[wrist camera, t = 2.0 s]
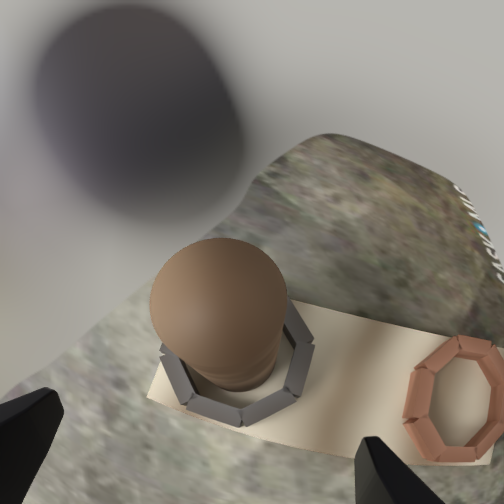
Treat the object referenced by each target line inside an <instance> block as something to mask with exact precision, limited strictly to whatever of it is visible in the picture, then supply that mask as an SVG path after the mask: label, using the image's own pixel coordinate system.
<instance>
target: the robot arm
mask: <svg viewBox="0 0 504 504" xmlns="http://www.w3.org/2000/svg"><path fill="white" fill-rule="evenodd" d="M63 415H64V409H63V406H62V403H61V401H60V398H59V396H58V393H57V392H56V391H55V390H53V389H51V388H48V387H44V388H41V389H38V390H36V391H33V392H31V393H28V394H26V395H23V396H21V397H18V398H16V399H13V400H10V401H8V402H5V403H3V404H0V504H22V502H23V500H24V498H25V496H26V494H27V492H28V490H29V488H30V486H31V484H32V482H33V480H34V478H35V476H36V474H37V472H38V470H39V468H40V466H41V464H42V463H43V461H44V459H45V457H46V455H47V453H48V451H49V449H50V446H51V444H52V442H53V439H54V437H55V434H56V432H57V429H58V427H59V425H60V422H61V420H62V418H63ZM354 464H355V500H356V504H445V503H444V502H443V501H442V500H441V499H440V498H439V497H438V496H437V495H436V494H435V493H434V492H433V491H432V490H431V489H430V488H429V487H428V486H427V485H426V484H425V483H424V482H423V481H422V480H421V479H420V478H419V477H418V476H417V475H416V474H415V473H414V472H413V471H412V470H411V469H410V468H409V467H408V466H407V465H406V464H405V463H404V462H403V461H402V460H401V459H400V458H399V457H398V456H397V455H396V454H395V453H394V452H393V451H392V450H391V449H390V448H389V447H388V446H387V445H386V444H385V443H384V442H383V440H382V439H381V438H380V437H378V436H366V437H363V438H362V440H361V443H360V445H359V447H358V450H357V452H356V454H355V460H354Z"/></svg>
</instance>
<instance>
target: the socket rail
mask: <svg viewBox="0 0 504 504" xmlns="http://www.w3.org/2000/svg"><path fill="white" fill-rule="evenodd" d="M159 351H161V352H162V353H163V356H161V357H160V360H161V362H160V364H159V367H158V369H157V372H156V374H155V377H154V379H153V382H152V385H151V387H150V390H149V392H148V395H147V398H150V399H152V400H154V401H156V402H159V403H161V404H163V405H166V406H168V407H171V408H173V409H176V410H178V411H181V412H183V413H186V414H188V415H191V416H193V417H196V418H199V419H202V420H204V421H207V422H210V423H213V424H216V425H219V426H222V427H225V428H228V429H231V430H234V431H237V432H240V433H244V434H247V435H250V436H254V437H257V438H261V439H264V440H268V441H272V442H276V443H279V444H283V445H288V446H292V447H296V448H300V449H305V450H310V451H314V452H319V453H325V454H330V455H336V456H342V457H348V458H354V459H355V454H356V452H357V450H358V447H359V445H360V443H361V440H362V438H363V437H366V436H378V437H380V438H381V439H382V440H383V442H384V443H385V444H386V445H387V446H388V447H389V448H390V449H391V450H392V451H393V452H394V453H395V454H396V455H397V456H398V457H399V458H400V459H401V460H402V461H403V462H404V463H405V464H411V465H432V466H469V465H490V461H491V457H492V452H493V448H494V443H495V442H496V441H497V440H498V438H499V437H500V436H501V435H502V434H503V432H504V348H500V347H496V345H495V344H494V345H492V346H491V341H488V340H483V339H479V338H474V337H469V336H464V335H460V334H459V335H457V336H456V337H455V336H453V337H452V338H451V337H446V336H442V335H437V334H432V333H428V332H423V331H419V330H414V329H410V328H406V327H401V326H397V325H393V324H388V323H384V322H380V321H376V320H372V319H367V318H363V317H359V316H355V315H351V314H347V313H343V312H339V311H335V310H331V309H327V308H323V307H319V306H315V305H311V304H308V303H304V302H300V301H296V300H292V299H290V298H289V296H287V309H286V315H285V320H284V325H283V330H282V335H281V339H280V344H279V349H278V354H277V359H276V363H275V367H274V369H273V372H272V373H271V375H270V377H269V378H268V379H267V380H266V381H265V382H264V383H263V384H262V385H260V386H259V387H257V388H255V389H253V390H250V391H247V392H230V391H226V390H223V389H221V388H219V387H217V386H216V385H215V384H213V383H212V382H210V381H209V380H208V379H206V378H205V377H204V376H202V375H201V374H200V373H198V372H197V371H196V370H195V369H193V368H192V367H191V366H189V365H188V364H187V363H186V362H184V361H183V360H182V359H180V358H179V357H178V356H177V355H175V354H174V353H173V352H172V351H171V350H169V349H168V348H167V347H166V345H165V344H164V343H162V345H161V348H160V350H159Z"/></svg>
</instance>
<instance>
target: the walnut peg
mask: <svg viewBox="0 0 504 504" xmlns="http://www.w3.org/2000/svg"><path fill="white" fill-rule="evenodd" d="M286 309H287V290H286V285H285V282H284V279H283V276H282V274H281V272H280V270H279V268H278V267H277V265H276V264H275V263H274V261H273V260H272V259H271V258H270V257H269V256H268V255H267V254H265V253H264V252H263V251H262V250H260V249H259V248H257V247H255V246H253V245H251V244H249V243H247V242H244V241H240V240H236V239H231V238H213V239H206V240H202V241H199V242H196V243H193V244H191V245H189V246H187V247H185V248H183V249H182V250H180V251H179V252H177V253H176V254H175V255H173V256H172V257H171V258H170V259H169V260H168V261H167V262H166V263H165V264H164V266H163V267H162V269H161V270H160V271H159V273H158V275H157V277H156V279H155V281H154V284H153V286H152V290H151V294H150V315H151V320H152V323H153V326H154V329H155V331H156V333H157V335H158V336H159V338H160V339H161V341H162V342H163V343H164V344H165V345H166V347H167V348H168V349H169V350H171V351H172V352H173V353H174V354H175V355H177V356H178V357H179V358H180V359H182V360H183V361H184V362H186V363H187V364H188V365H189V366H191V367H192V368H193V369H195V370H196V371H197V372H198V373H200V374H201V375H202V376H204V377H205V378H206V379H208V380H209V381H210V382H212V383H213V384H215V385H216V386H217V387H219V388H221V389H223V390H226V391H230V392H247V391H250V390H253V389H255V388H257V387H259V386H260V385H262V384H263V383H264V382H265V381H266V380H267V379H268V378H269V377H270V375H271V373H272V372H273V369H274V367H275V363H276V359H277V354H278V349H279V344H280V339H281V335H282V330H283V325H284V320H285V315H286Z"/></svg>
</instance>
